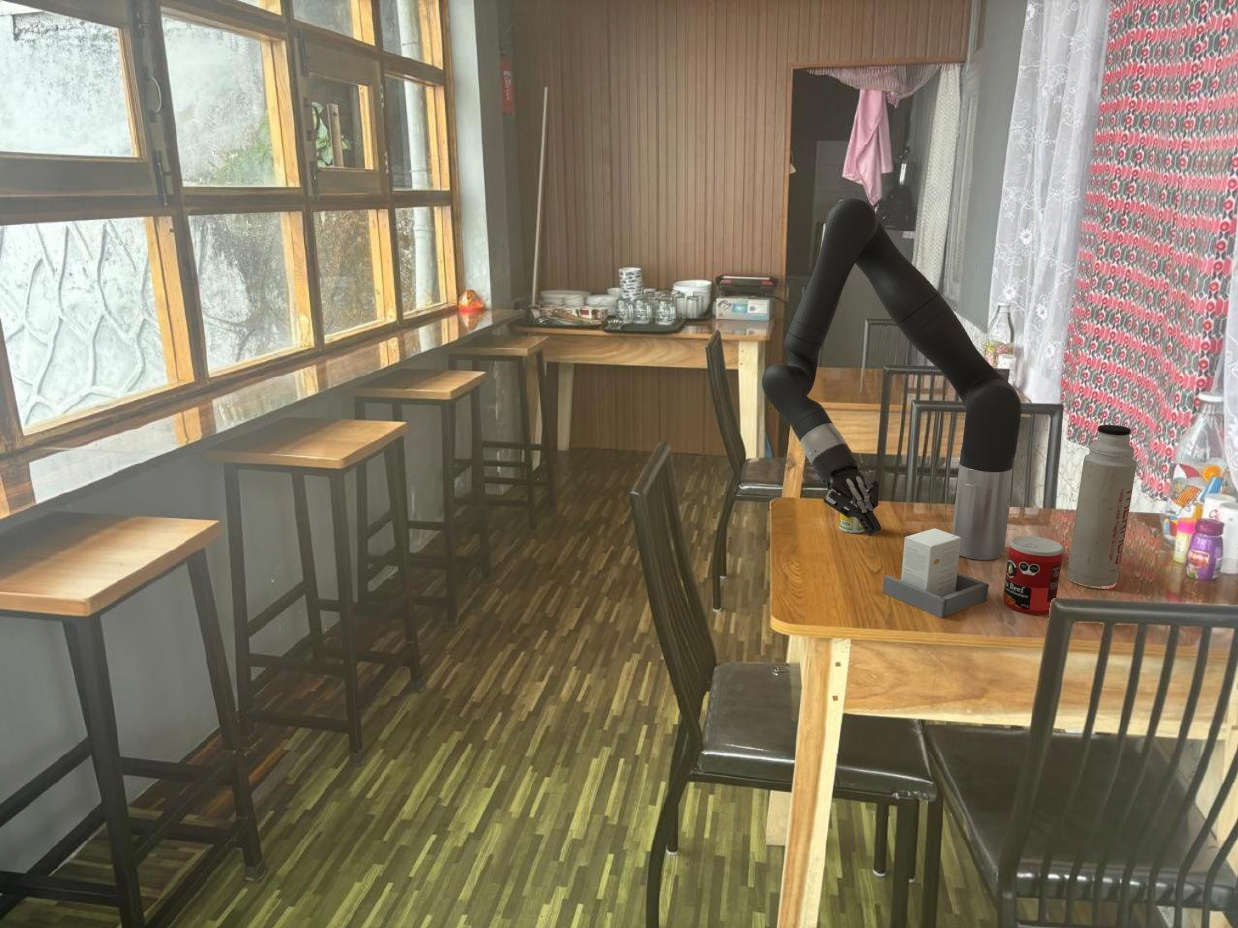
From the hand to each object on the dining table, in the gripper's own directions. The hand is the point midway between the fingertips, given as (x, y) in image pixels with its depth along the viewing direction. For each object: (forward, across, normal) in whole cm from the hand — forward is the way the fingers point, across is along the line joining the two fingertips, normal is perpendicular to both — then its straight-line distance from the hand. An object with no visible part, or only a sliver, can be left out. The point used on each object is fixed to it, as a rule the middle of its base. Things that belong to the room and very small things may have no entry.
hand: (875, 532), depth 162 cm
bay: (+14, 0, -4) cm, 15 cm away
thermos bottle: (+23, +29, -12) cm, 39 cm away
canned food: (+23, +10, -12) cm, 27 cm away
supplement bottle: (-7, +14, +18) cm, 23 cm away
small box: (+14, 0, -3) cm, 14 cm away
